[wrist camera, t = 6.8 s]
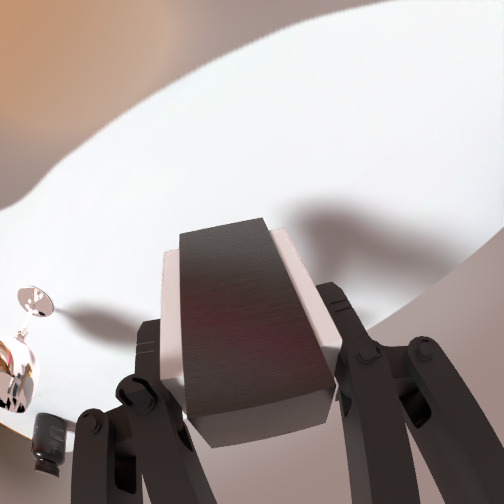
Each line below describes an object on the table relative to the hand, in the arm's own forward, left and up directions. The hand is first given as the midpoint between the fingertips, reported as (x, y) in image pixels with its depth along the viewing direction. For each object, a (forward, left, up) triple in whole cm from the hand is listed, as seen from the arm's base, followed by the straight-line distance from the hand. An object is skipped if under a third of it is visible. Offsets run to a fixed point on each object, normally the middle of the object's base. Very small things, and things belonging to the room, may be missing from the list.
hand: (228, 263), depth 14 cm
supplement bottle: (+40, +37, -10) cm, 55 cm away
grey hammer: (0, +6, -1) cm, 6 cm away
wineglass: (+21, +8, -10) cm, 25 cm away
